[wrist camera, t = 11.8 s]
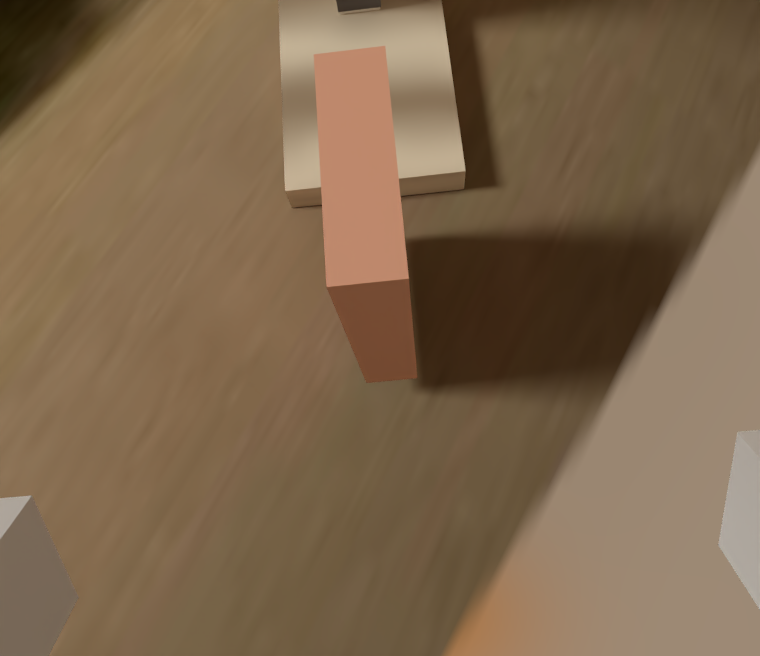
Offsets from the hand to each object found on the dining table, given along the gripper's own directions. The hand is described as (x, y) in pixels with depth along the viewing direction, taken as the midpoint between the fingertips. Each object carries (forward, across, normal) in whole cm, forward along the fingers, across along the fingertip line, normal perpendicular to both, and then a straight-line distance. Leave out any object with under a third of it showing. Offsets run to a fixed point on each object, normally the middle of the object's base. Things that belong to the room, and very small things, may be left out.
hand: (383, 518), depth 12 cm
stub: (+14, 0, -2) cm, 15 cm away
